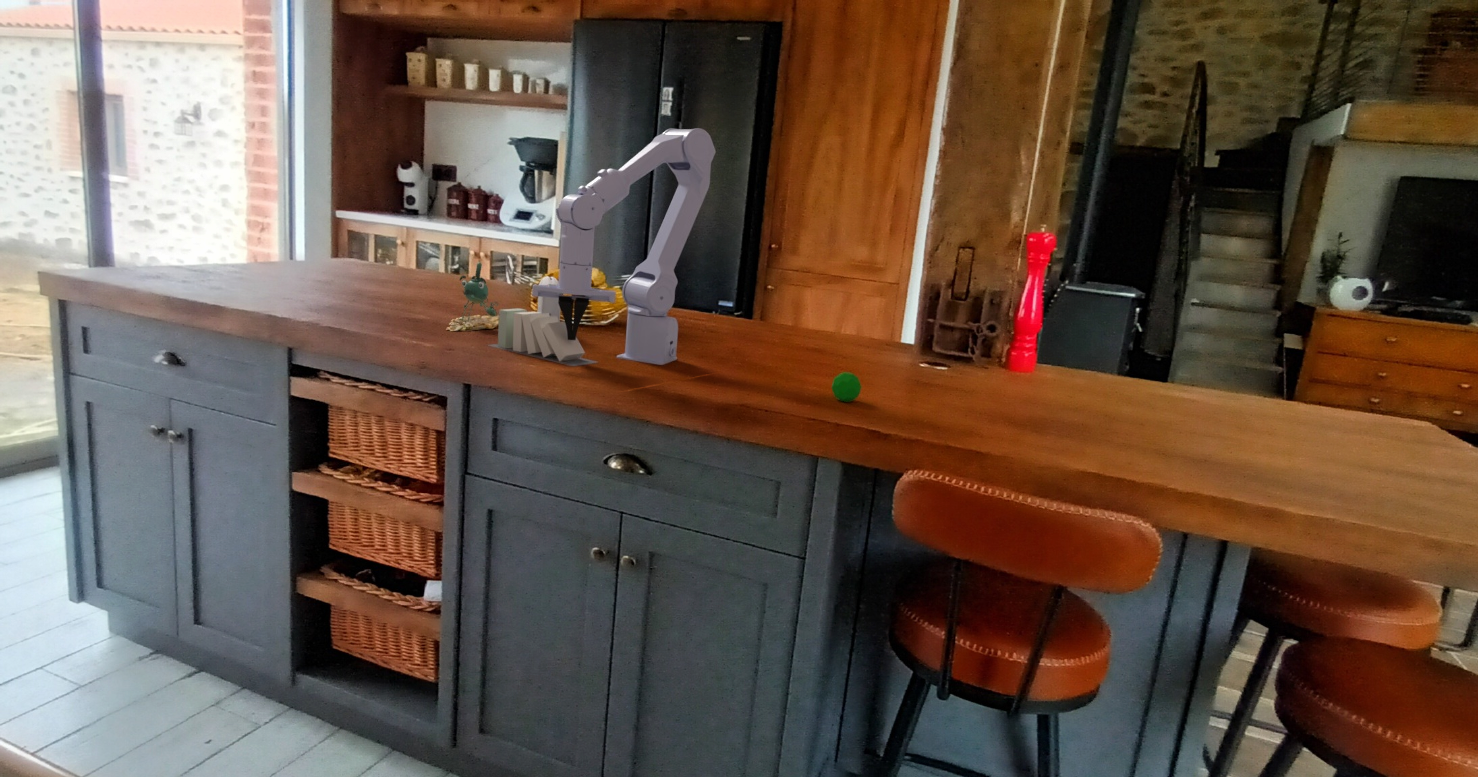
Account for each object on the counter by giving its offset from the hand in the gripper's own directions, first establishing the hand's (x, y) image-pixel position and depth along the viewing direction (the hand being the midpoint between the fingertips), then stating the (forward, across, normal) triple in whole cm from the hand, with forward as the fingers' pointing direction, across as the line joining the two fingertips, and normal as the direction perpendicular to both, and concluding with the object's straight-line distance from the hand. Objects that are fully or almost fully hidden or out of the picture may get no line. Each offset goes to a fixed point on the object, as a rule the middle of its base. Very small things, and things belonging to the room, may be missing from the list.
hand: (571, 339), depth 157 cm
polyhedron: (+4, -47, +17) cm, 50 cm away
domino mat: (+4, +6, -5) cm, 8 cm away
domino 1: (+4, +8, -7) cm, 12 cm away
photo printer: (+4, +6, -27) cm, 28 cm away
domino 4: (+3, 0, 0) cm, 3 cm away
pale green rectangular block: (+4, +12, -10) cm, 16 cm away
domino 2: (+4, +6, -5) cm, 8 cm away
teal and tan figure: (+4, +21, -31) cm, 38 cm away
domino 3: (+3, +3, -2) cm, 5 cm away
